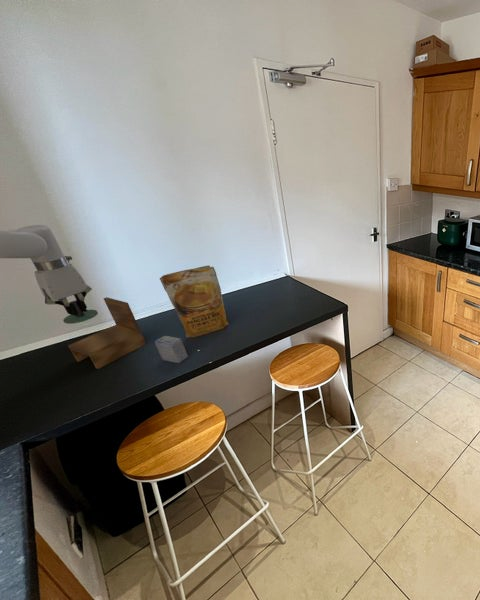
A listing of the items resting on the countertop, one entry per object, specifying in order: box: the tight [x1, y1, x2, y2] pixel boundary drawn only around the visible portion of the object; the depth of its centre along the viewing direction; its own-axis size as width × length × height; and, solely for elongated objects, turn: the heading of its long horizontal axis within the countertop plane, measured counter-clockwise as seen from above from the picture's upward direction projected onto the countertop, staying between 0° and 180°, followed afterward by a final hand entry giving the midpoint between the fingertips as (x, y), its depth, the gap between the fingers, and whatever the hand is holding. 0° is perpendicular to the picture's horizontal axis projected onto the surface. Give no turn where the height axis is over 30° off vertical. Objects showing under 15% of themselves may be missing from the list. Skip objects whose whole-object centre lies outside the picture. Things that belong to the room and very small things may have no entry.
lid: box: [62, 300, 99, 325], centre depth 110 cm, size 9×9×6 cm
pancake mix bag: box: [159, 265, 229, 339], centre depth 130 cm, size 7×19×28 cm, turn 129°
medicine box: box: [154, 335, 189, 364], centre depth 117 cm, size 8×4×9 cm, turn 74°
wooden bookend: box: [67, 297, 147, 370], centre depth 118 cm, size 17×13×19 cm
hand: (78, 312), depth 111 cm, fingers closed on lid
